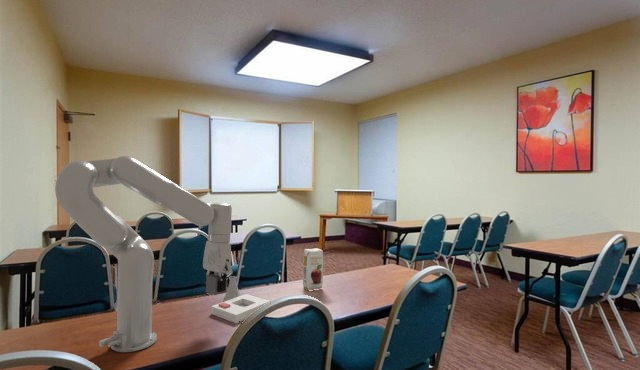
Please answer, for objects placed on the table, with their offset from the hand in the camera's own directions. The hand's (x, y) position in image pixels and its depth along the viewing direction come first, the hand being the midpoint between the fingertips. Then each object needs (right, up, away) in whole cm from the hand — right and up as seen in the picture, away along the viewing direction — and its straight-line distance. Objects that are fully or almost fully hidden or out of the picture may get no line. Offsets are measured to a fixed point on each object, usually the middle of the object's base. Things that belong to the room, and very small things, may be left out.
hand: (216, 289), depth 119 cm
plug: (0, -1, 0) cm, 1 cm away
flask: (-1, -13, +26) cm, 29 cm away
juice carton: (+33, -13, +44) cm, 56 cm away
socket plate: (+6, -13, +14) cm, 20 cm away
